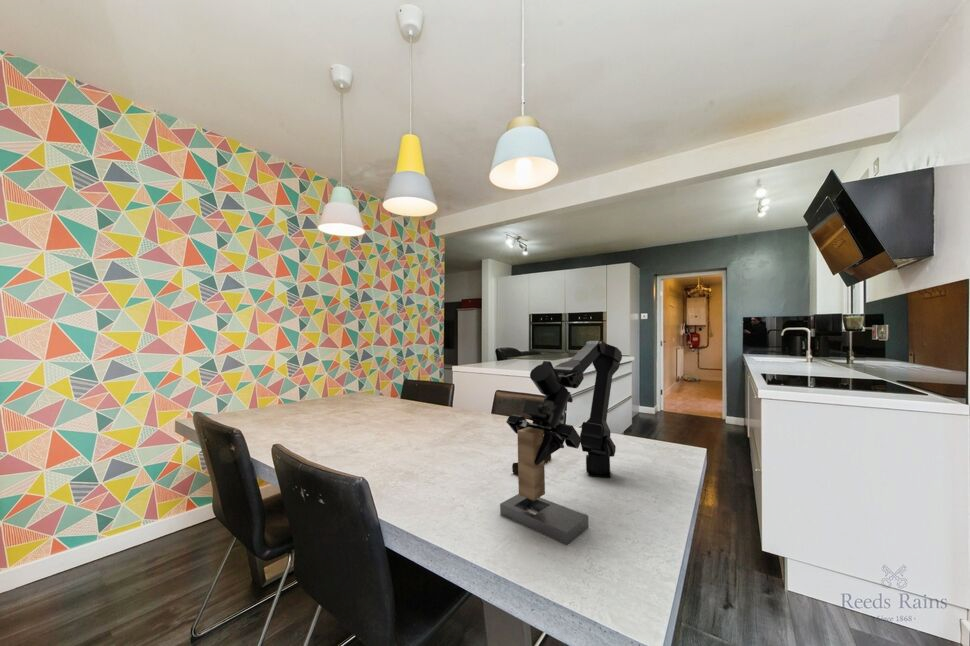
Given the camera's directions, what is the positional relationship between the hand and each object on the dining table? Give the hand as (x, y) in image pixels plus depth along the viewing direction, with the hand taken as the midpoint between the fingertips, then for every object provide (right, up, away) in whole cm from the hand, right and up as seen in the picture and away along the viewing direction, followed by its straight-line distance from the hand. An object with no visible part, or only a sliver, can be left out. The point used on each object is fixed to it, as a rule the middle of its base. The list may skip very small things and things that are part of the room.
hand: (527, 461), depth 83 cm
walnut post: (+1, -8, +1) cm, 8 cm away
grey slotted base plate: (+3, -13, -2) cm, 13 cm away
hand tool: (+6, -14, +32) cm, 35 cm away
